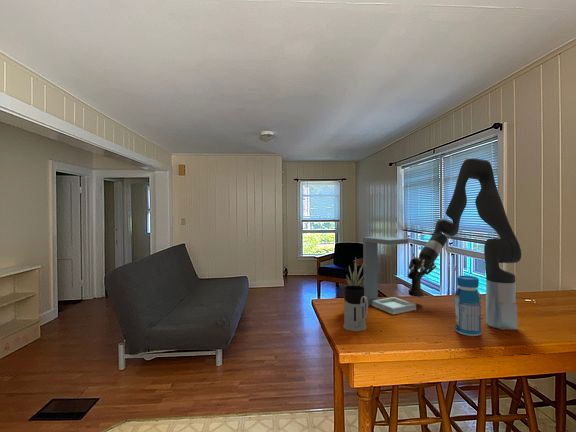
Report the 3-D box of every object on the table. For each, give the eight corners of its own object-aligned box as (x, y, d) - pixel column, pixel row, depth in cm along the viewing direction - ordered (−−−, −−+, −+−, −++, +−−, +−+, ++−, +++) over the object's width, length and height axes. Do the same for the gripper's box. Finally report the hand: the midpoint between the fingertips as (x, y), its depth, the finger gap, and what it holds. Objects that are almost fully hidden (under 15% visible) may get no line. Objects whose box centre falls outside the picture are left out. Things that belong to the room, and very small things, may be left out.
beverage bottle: (468, 338, 107) (468, 280, 107) (449, 329, 115) (449, 275, 115) (487, 335, 109) (487, 278, 109) (467, 326, 117) (467, 274, 117)
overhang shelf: (389, 300, 153) (388, 235, 153) (416, 310, 138) (416, 238, 137) (363, 304, 146) (363, 237, 146) (389, 315, 131) (389, 240, 130)
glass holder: (359, 321, 124) (359, 284, 124) (378, 335, 110) (378, 293, 110) (339, 324, 122) (339, 286, 121) (356, 338, 108) (356, 295, 108)
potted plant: (371, 315, 131) (371, 257, 131) (352, 318, 128) (352, 259, 127) (358, 308, 140) (357, 254, 140) (339, 311, 137) (339, 256, 137)
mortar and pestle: (420, 293, 150) (419, 256, 150) (426, 296, 143) (426, 258, 143) (406, 293, 150) (406, 256, 150) (412, 297, 143) (411, 258, 143)
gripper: (415, 245, 156) (397, 271, 151) (439, 247, 143) (421, 276, 138) (423, 254, 158) (405, 280, 153) (447, 258, 146) (429, 286, 140)
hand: (413, 278), depth 146 cm, fingers closed on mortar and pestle, 4 cm apart
